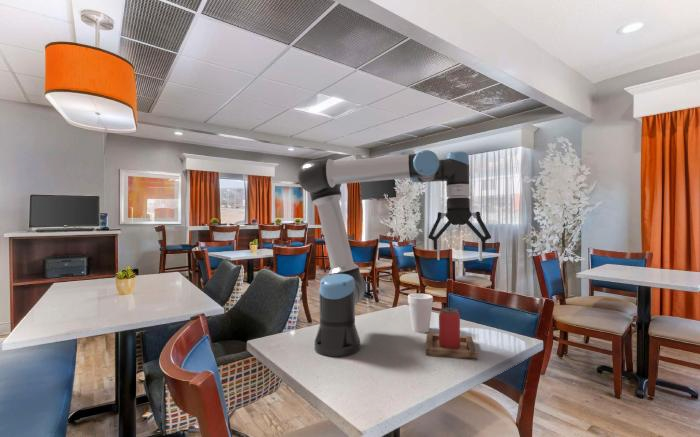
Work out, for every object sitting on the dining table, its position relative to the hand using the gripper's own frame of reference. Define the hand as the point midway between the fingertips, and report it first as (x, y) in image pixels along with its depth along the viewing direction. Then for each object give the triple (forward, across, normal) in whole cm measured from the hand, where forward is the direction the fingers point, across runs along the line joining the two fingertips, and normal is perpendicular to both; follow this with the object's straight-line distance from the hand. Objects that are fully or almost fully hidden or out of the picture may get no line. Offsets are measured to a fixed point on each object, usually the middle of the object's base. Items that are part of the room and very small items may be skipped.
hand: (459, 260), depth 111 cm
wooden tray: (+28, -4, -5) cm, 29 cm away
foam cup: (+29, -14, +12) cm, 34 cm away
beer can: (+28, -4, -5) cm, 29 cm away
